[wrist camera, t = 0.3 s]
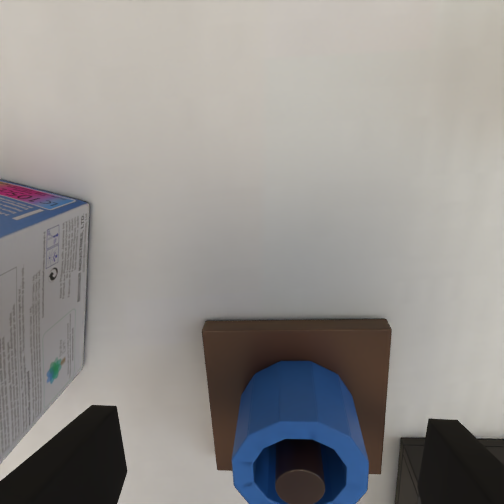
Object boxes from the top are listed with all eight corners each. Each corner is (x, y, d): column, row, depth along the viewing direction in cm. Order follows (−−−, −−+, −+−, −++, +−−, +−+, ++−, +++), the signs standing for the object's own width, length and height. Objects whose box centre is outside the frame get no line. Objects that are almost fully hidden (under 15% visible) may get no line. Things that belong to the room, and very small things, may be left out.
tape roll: (350, 450, 20) (365, 525, 16) (245, 448, 21) (237, 521, 17) (353, 360, 18) (371, 422, 15) (238, 360, 19) (227, 420, 15)
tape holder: (376, 459, 22) (407, 569, 16) (219, 455, 22) (200, 560, 17) (386, 318, 19) (427, 397, 13) (205, 320, 19) (176, 395, 14)
